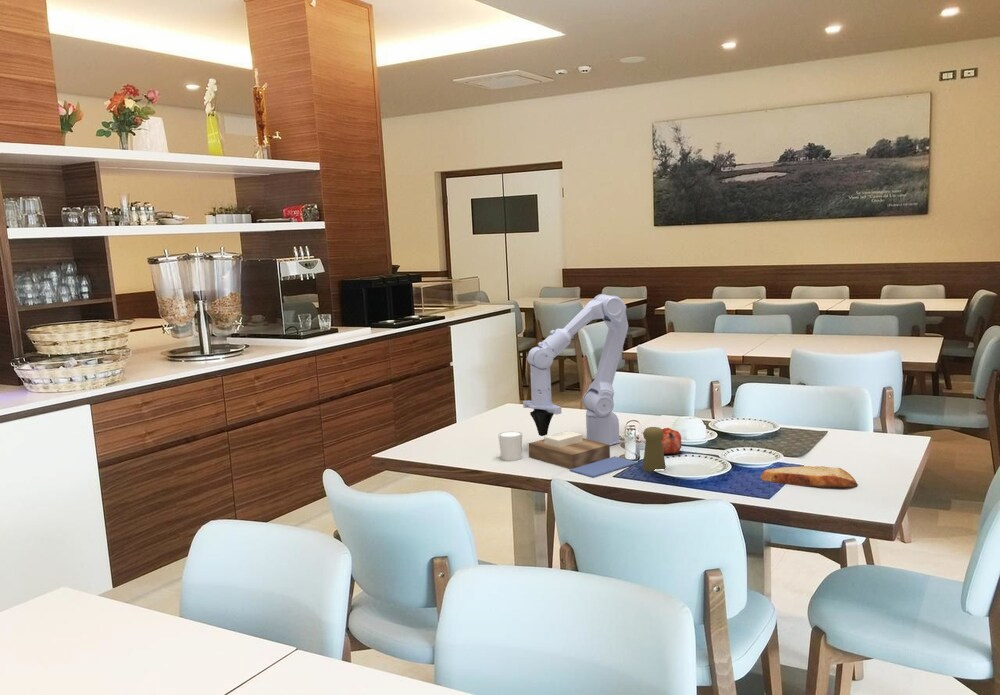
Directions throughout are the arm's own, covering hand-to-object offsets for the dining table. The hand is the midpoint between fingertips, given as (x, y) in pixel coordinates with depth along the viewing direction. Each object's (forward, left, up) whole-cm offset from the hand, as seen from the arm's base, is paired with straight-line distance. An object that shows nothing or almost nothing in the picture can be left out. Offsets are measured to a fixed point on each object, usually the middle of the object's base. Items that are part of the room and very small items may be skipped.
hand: (543, 435), depth 234 cm
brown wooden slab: (0, +11, -5) cm, 12 cm away
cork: (-8, +35, -5) cm, 36 cm away
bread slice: (-25, +69, -5) cm, 73 cm away
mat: (0, +24, -5) cm, 25 cm away
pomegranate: (-22, +28, -5) cm, 36 cm away
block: (0, +9, -1) cm, 9 cm away
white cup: (+11, -1, -5) cm, 12 cm away
